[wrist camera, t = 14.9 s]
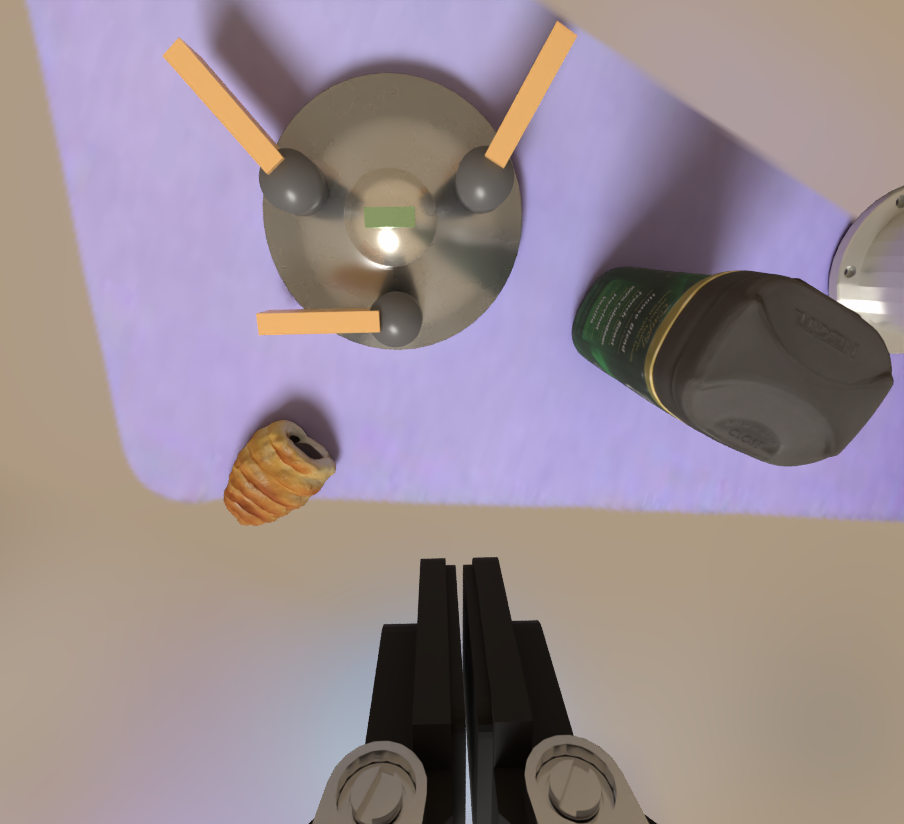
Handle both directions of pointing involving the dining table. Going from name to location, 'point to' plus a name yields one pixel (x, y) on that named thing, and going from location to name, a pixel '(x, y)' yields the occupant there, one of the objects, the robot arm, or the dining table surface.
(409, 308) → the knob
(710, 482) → the dining table surface
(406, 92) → the level plate
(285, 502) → the pastry
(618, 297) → the coffee jar
